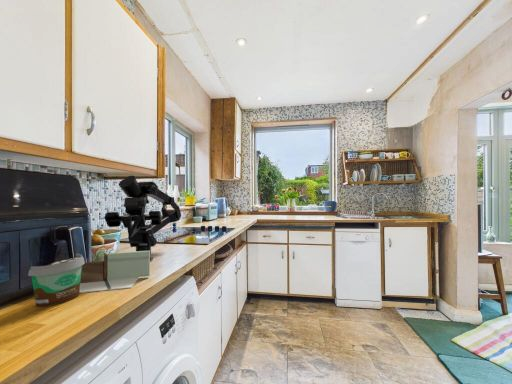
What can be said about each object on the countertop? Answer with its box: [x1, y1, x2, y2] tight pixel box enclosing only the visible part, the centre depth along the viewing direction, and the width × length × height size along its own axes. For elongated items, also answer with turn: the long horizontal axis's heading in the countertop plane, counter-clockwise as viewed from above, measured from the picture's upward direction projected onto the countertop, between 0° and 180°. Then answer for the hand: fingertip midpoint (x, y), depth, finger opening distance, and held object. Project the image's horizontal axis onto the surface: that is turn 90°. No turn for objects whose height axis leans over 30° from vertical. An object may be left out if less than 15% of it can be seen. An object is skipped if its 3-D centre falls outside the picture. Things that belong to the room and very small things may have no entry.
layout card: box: [79, 277, 140, 294], centre depth 72 cm, size 14×18×1 cm
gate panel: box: [107, 250, 151, 280], centre depth 74 cm, size 1×12×8 cm, turn 104°
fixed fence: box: [80, 253, 109, 283], centre depth 72 cm, size 1×8×8 cm, turn 104°
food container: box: [27, 253, 86, 308], centre depth 60 cm, size 12×6×10 cm, turn 168°
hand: (130, 236), depth 82 cm, fingers closed
